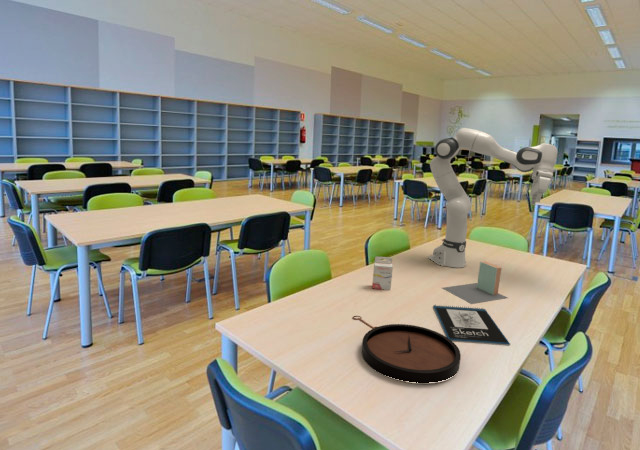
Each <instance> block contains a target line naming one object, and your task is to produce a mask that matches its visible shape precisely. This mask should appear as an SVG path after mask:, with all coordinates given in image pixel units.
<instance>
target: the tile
mask: <svg viewBox="0 0 640 450" xmlns="http://www.w3.org/2000/svg"><path fill="white" fill-rule="evenodd" d="M501 274H502V267H500V266H498V265H495V264H493V263H490V262H488V261H486V260H483V261H480V262H479V267H478V277H477V282H476V283H477V288H479V289H481V290H483V291H485V292H487V293H489V294H492V295H497V294H498V293H499V288H500V281H501Z"/></svg>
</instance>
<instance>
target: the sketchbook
mask: <svg viewBox="0 0 640 450" xmlns="http://www.w3.org/2000/svg"><path fill="white" fill-rule="evenodd" d="M432 308H433V311H434V313H435V316H436V317H437V319H438V322H439V324H440V327H441V329H442V331H443V334H444V336H445V337H447V338H449V339H450V340H451V341H452V342H457V341H458V343H459V342H461V343H470V342H471V343H472V344H483V345H485V344H486V345H496V346H497V345H498V346H509V345H510V346H511V343H510V342H509V340H508V339H507V338H506V336H505V334H504V333H503V332H502V331H501V329H500V328H499V326H498V325H497V324H496V322H495V321H494V320H493V317H491V314H489V313H488V311H487V310H486V308H484V307H472V306H470V307H469V306H459V305H458V306H455V305H437V304H434V305H432ZM471 343H470V344H471Z"/></svg>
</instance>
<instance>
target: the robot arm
mask: <svg viewBox="0 0 640 450" xmlns="http://www.w3.org/2000/svg"><path fill="white" fill-rule="evenodd" d="M462 149H464V150H467V151H471V152H473V153H476V154H480V155H483V156H488V157H492V158H495V159H498V160H499V161H503V162H505V163H507V164H510V165H512V166H514V167H515V169H516V170H517V171H519V172H521V173H529V172H531V171H532V174H531V180H532V185H531V188H530V192H529V197H531V201H530V204H531V205H533V206H535V205H536V203H541V199H542V196H543V194H545V193H546V192H547V191H548V188H549V185H550V183H551V182H552V180H553V177H554V167H555V165H556V162H557V159H558V158H557V157H558V148H557V147H556V146H555V145H554V144H551V143H548V142H542V143H541V144H539V145H535V146H523V147H522V148H520V149H519V150H518V151H517V152H515V151H513V150H511V149H507V148H506V147H505V148H504V147H503V146H501V145H500V144H499V143H498V142H497V141H496V139H495V138H494V136H493V135H491V134H490V133H489V134H488V133H487V132H484V131H481V130H477V129H474V128H469V127H468V128H467V127H461V128H460V129H459V130H458V131H456V133H455V135H454V137H453V136H451V137H446V138H442V139H440V140H439V141H438V142H437V143H436V144H435V148H434V153H435V154H436V157H434V158H432V159H431V160H430V163H429V168H430V171H431V174H432V176H433V179H434V181H435V184H436V185H437V187H438V190H439V192H440V194H442V195H443V197H444V198H445V200H446V202H447V205H446V229H445V238H442V239H441V241H442V242H441V243H442V244H441V245H438V246H437V247H435V248H434V249H433V251H432V255H429V256H428V257H427V258H428V259H429V260H430V259H431V261H432V262H433V261H434V263H435V264H437V265H438V266H440V265H441V267H449V268H464V267H466V266H467V264H466V263H467V261H466V248H467V247H466V246H467V240H466V239H467V231H468V214H469V211H470V210H471V208H472V202H471V200H470V198H469V197H468V194H467V193H466V191H465V190H464V188H463V186H462V185H461V183H460V181H459V179H458V177H457V175H456V173H455V171H454V169H453V167H452V164H451V161H453V159H455V158H456V157H457V156H458V155H459V153H460V151H461V150H462Z"/></svg>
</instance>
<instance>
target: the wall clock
mask: <svg viewBox="0 0 640 450" xmlns="http://www.w3.org/2000/svg"><path fill="white" fill-rule="evenodd" d="M375 327H376V328H374V329H372V328H371V329H370V330H369V331H367V332H366V333H365V335H364V336H363V338H362V343H361V355H362V358H363V360H364V361H365V363H366V364H367V365H368V366H369V367H370V368H371V369H373V370H374V371H375V370H376V371H375V372H377V373H378V372H379V374H380V373H381V374H380V375H382V374H383V375H382V376H384V375H386V376H389V377H392V378H395V379H399V380H403V381H409V382H416V383H417V382H418V383H429V382H438V381H442V380H446V379H448V378H450V377H452V376H454V375H455V374H456V373H457V374H458V372H459V371H460V370H459V369H460V364H461V357H462V355H461V351H460V349H459V347H458V346H457V344H456V343H455V342H454V341H451V340H450V339H449V338H447V337H446V335H445V334H444V335H443V334H441V333H440V332H437V331H435V330H432V329H430V328H426V327H423V326H418V325H413V324H405V323H404V324H403V323H397V324H396V323H393V324H385V325H379V326H378V327H377V326H375ZM457 371H458V372H457ZM457 374H456V375H457ZM456 375H455V376H456ZM386 376H385V377H386ZM455 376H454V377H455ZM389 377H388V378H389ZM452 378H453V377H452Z"/></svg>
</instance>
